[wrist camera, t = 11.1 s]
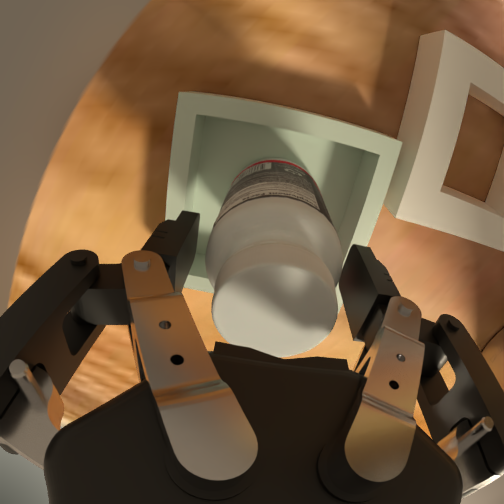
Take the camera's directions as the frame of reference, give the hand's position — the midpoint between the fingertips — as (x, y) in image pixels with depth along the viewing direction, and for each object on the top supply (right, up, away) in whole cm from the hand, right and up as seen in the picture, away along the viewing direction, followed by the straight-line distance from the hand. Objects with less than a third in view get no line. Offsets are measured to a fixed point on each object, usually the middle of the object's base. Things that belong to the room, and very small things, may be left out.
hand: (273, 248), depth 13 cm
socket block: (+13, +7, +2) cm, 15 cm away
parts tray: (0, +3, +5) cm, 6 cm away
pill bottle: (0, +3, +5) cm, 6 cm away
